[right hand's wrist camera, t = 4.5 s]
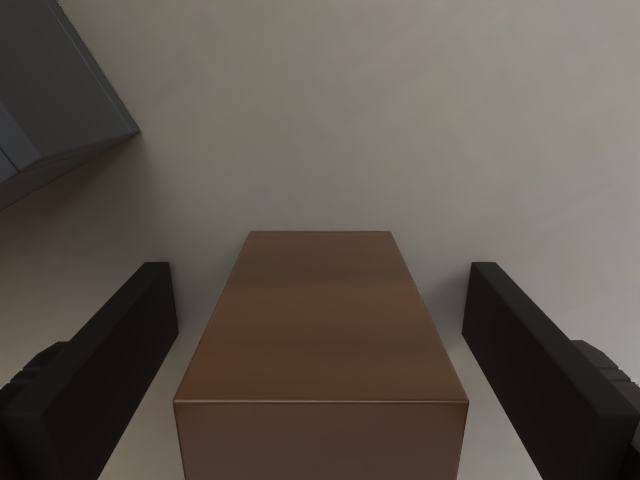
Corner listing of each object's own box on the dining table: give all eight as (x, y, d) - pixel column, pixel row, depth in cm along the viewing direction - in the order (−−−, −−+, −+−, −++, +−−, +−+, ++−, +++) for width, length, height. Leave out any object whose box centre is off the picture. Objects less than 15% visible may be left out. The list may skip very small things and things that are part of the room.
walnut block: (249, 230, 13) (170, 401, 6) (390, 230, 13) (470, 400, 6) (257, 348, 15) (201, 589, 8) (383, 348, 15) (439, 590, 8)
